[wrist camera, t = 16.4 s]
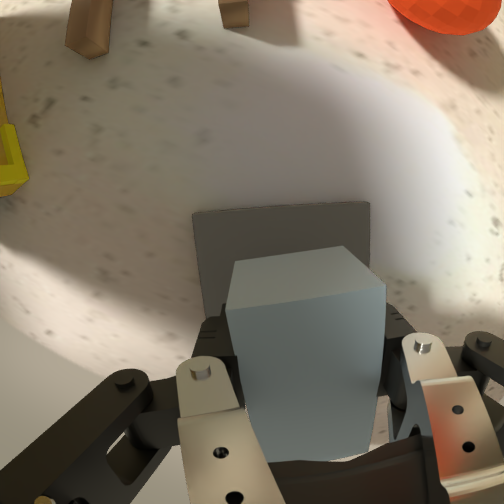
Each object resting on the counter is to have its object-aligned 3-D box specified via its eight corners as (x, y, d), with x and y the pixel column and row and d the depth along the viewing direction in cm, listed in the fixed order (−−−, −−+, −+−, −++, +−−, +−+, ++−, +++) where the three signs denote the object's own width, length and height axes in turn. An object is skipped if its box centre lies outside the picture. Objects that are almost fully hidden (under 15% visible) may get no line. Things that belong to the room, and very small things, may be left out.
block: (261, 402, 13) (262, 469, 9) (235, 261, 11) (225, 310, 7) (345, 389, 13) (367, 451, 9) (343, 245, 11) (386, 285, 7)
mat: (215, 359, 16) (214, 366, 15) (194, 212, 14) (191, 214, 13) (358, 346, 15) (361, 352, 15) (365, 201, 13) (369, 202, 13)
